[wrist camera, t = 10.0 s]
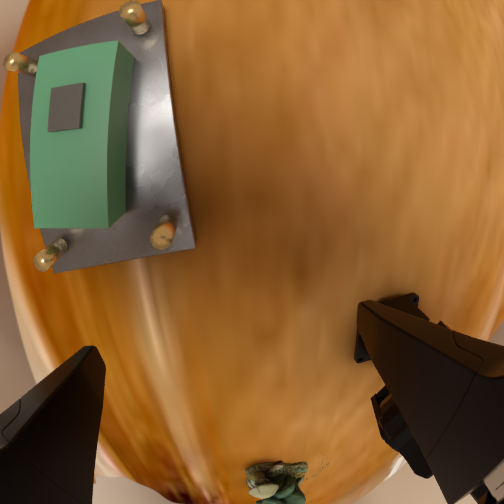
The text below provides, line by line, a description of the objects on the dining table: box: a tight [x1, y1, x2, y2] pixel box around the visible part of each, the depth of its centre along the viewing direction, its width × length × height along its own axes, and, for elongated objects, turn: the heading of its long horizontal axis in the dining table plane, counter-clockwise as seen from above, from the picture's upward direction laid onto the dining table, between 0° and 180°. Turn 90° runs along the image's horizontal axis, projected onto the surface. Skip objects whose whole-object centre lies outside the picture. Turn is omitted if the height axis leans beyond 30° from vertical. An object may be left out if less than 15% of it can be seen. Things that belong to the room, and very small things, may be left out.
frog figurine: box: [245, 454, 329, 504], centre depth 29 cm, size 18×18×12 cm
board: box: [30, 40, 134, 228], centre depth 13 cm, size 10×5×4 cm, turn 175°
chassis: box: [3, 0, 196, 273], centre depth 14 cm, size 17×11×4 cm, turn 7°
